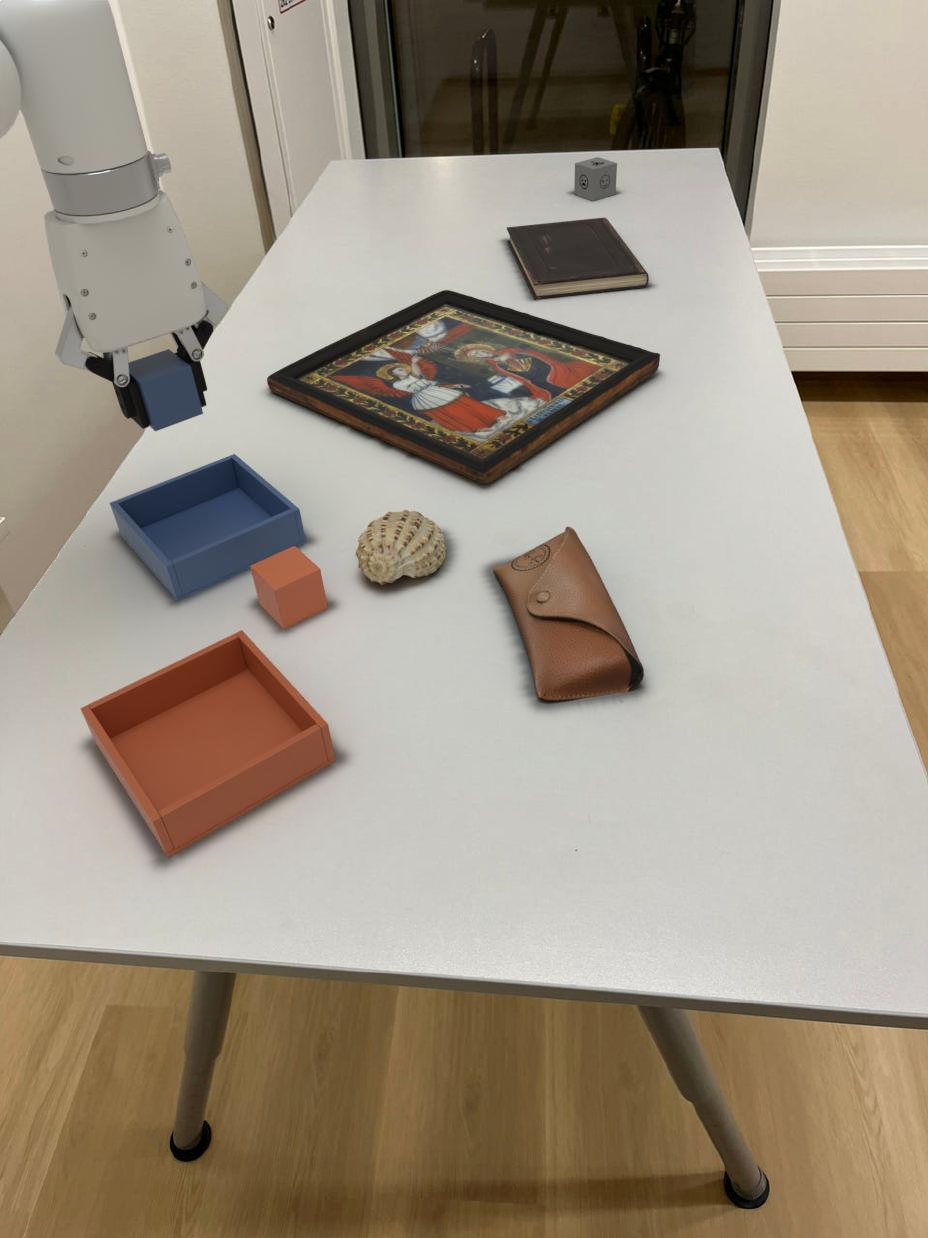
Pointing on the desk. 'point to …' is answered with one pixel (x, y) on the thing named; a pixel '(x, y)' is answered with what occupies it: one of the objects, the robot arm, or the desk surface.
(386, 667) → the desk surface
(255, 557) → the blue bin
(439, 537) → the seashell
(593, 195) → the dice cube
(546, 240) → the hardcover book
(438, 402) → the framed icon painting
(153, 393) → the blue block
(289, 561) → the terracotta block
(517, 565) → the sunglasses case
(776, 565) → the desk surface
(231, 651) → the terracotta bin
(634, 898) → the desk surface
